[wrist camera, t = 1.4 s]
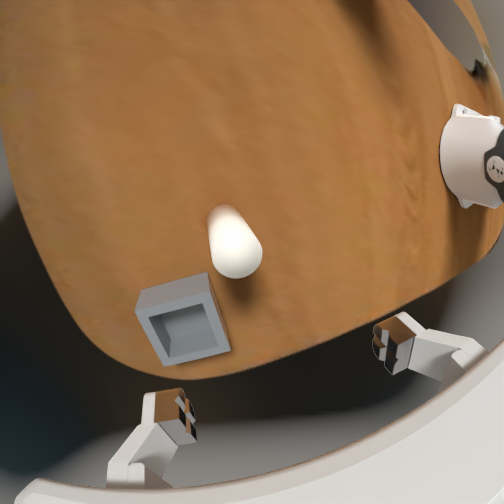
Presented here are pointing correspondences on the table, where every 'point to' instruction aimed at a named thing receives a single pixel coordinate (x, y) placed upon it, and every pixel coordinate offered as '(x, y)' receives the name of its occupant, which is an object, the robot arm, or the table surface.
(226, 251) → the cream peg
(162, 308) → the sleeve holder
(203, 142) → the table surface
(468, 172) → the robot arm
